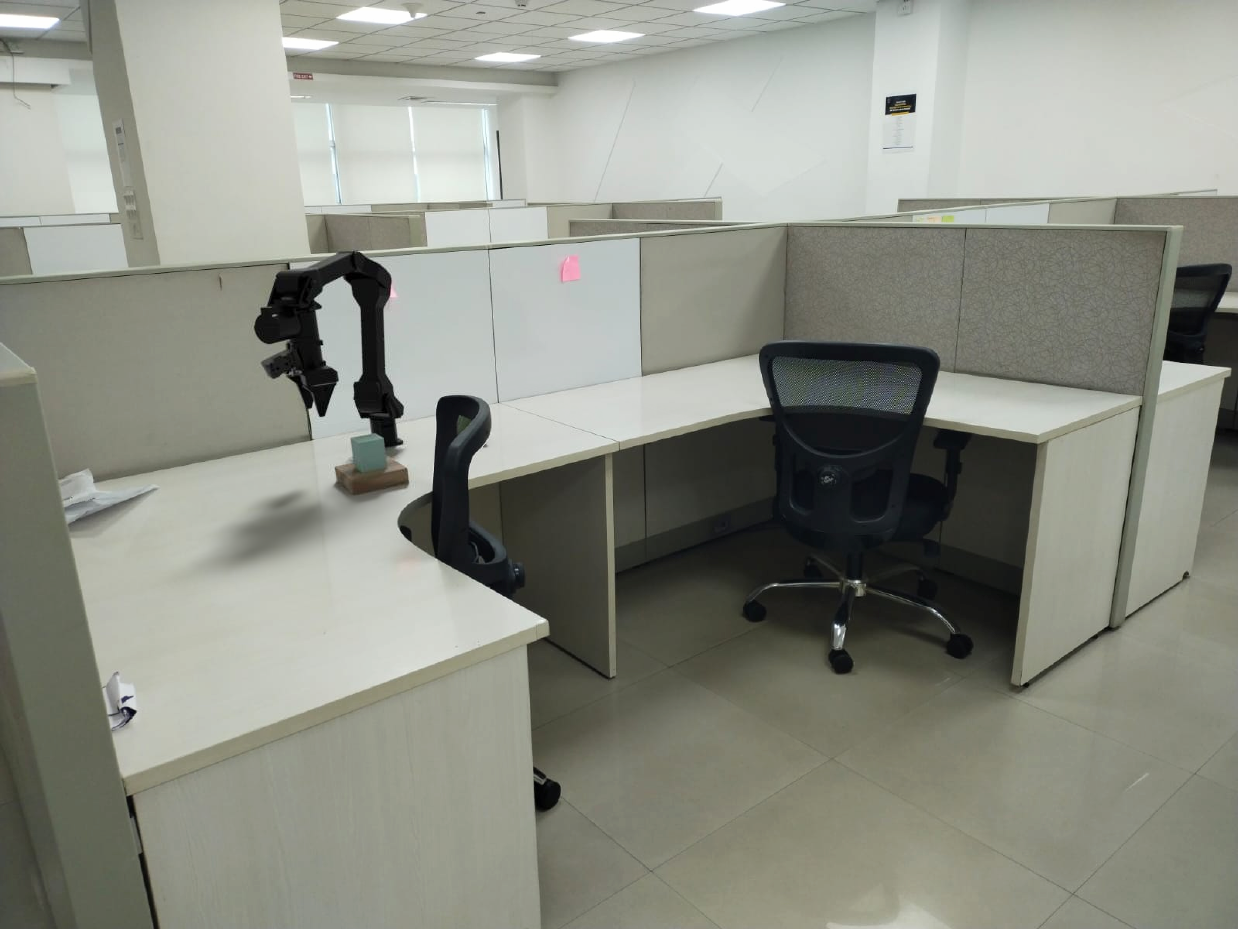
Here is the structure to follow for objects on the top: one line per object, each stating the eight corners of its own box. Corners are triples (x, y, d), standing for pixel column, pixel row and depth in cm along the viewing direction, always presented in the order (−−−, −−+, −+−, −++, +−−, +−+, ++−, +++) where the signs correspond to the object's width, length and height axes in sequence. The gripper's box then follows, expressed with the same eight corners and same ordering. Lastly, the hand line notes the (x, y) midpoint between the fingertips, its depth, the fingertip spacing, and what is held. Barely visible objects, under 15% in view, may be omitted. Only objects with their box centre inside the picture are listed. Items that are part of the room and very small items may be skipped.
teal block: (354, 466, 175) (350, 437, 173) (378, 461, 177) (375, 433, 175) (362, 472, 171) (358, 443, 169) (387, 467, 173) (383, 438, 171)
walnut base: (336, 480, 176) (334, 466, 175) (389, 469, 182) (387, 455, 181) (354, 494, 168) (352, 479, 167) (409, 482, 173) (407, 468, 172)
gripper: (250, 335, 176) (263, 411, 181) (273, 346, 161) (286, 428, 166) (306, 328, 182) (317, 402, 186) (333, 338, 167) (345, 418, 171)
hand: (315, 412), depth 177 cm, fingers open, 9 cm apart
